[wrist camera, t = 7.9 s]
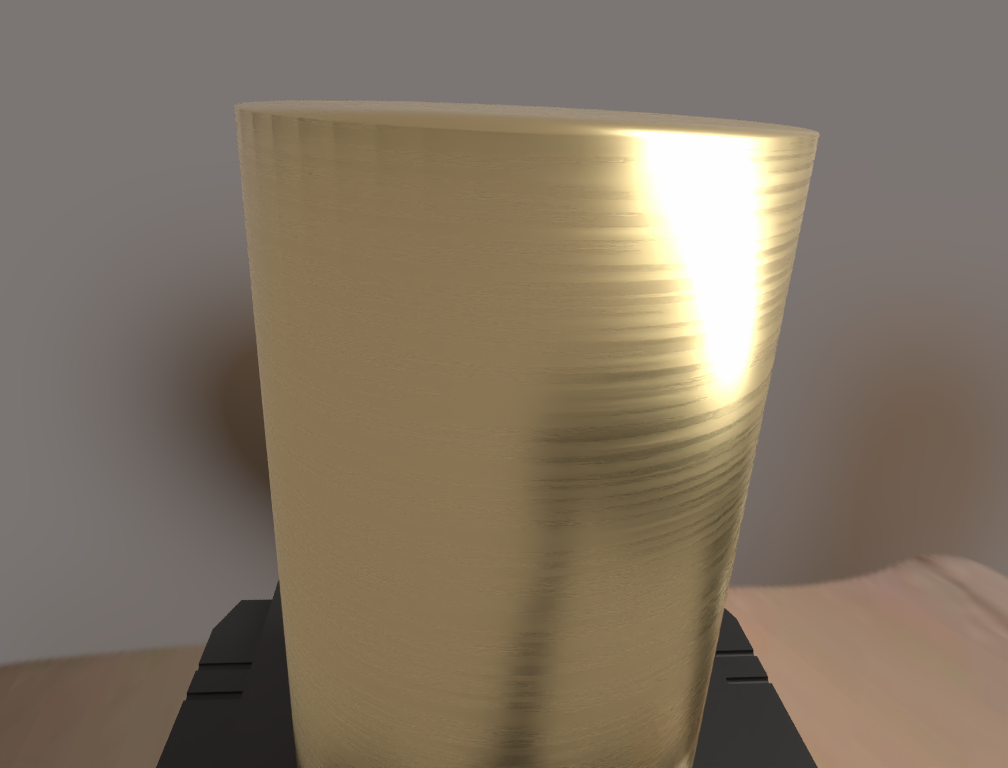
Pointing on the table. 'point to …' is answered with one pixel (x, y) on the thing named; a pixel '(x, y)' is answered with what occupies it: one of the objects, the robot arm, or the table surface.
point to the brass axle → (510, 416)
